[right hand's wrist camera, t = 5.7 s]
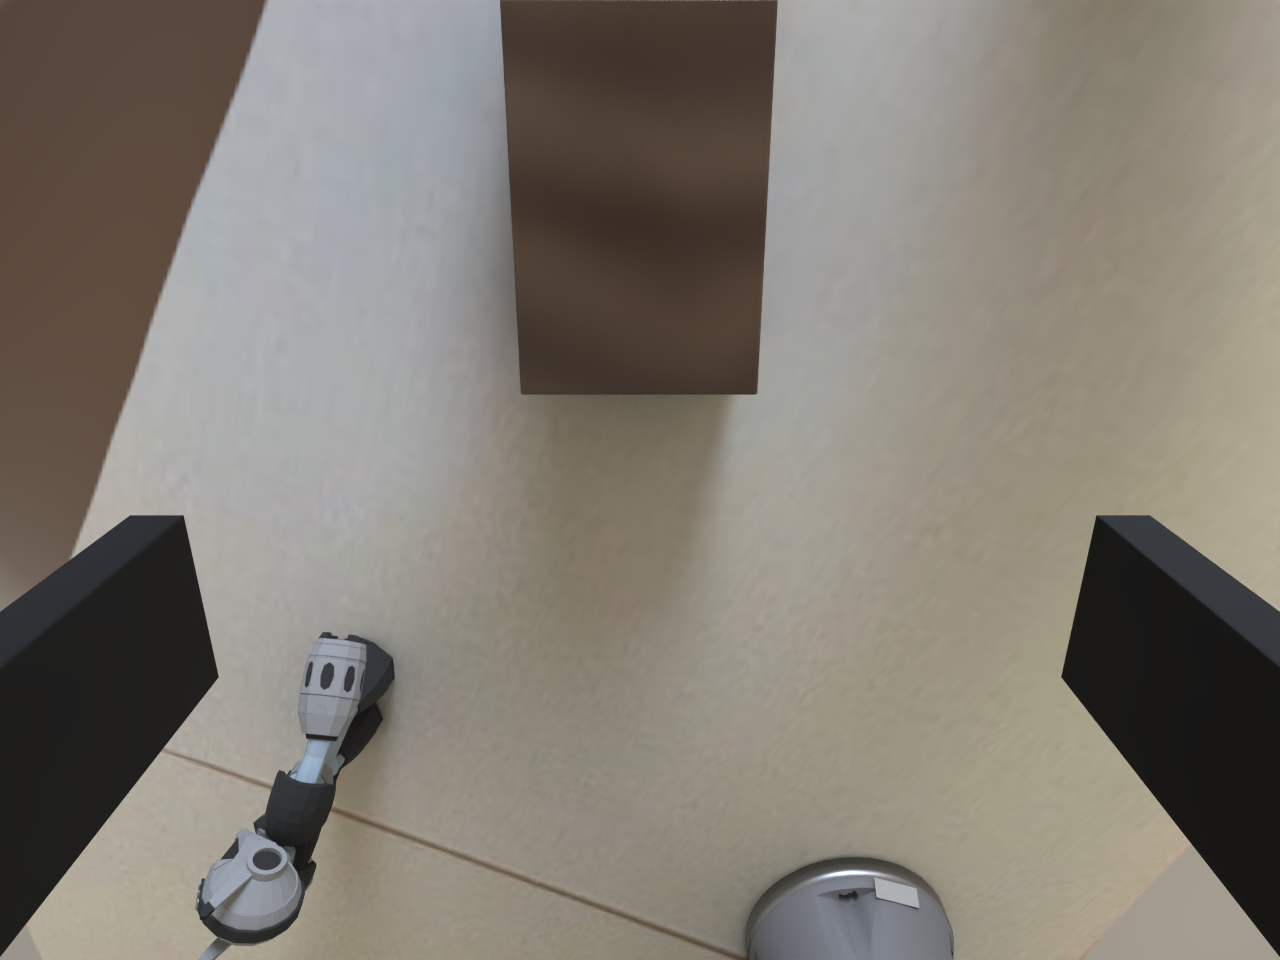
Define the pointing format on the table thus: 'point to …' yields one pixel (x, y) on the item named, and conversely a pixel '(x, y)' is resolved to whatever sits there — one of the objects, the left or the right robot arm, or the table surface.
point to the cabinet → (638, 191)
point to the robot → (297, 799)
